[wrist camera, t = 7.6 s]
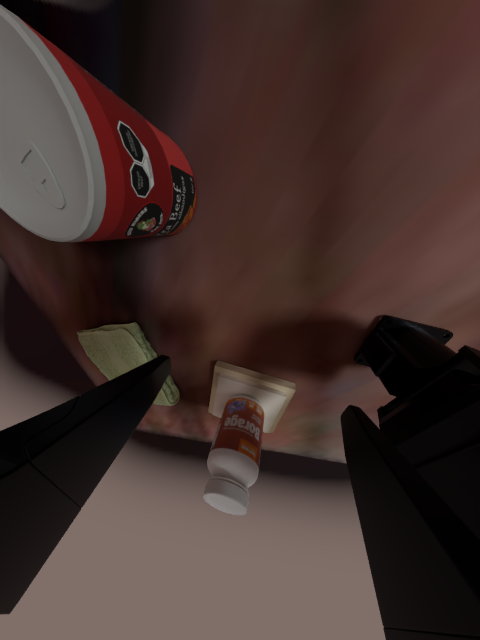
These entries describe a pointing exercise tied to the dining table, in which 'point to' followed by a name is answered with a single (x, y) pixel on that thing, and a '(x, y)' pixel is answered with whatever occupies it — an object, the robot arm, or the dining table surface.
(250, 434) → the pill bottle
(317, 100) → the dining table surface
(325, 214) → the dining table surface
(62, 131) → the canned food
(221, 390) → the stand
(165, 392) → the washcloth
